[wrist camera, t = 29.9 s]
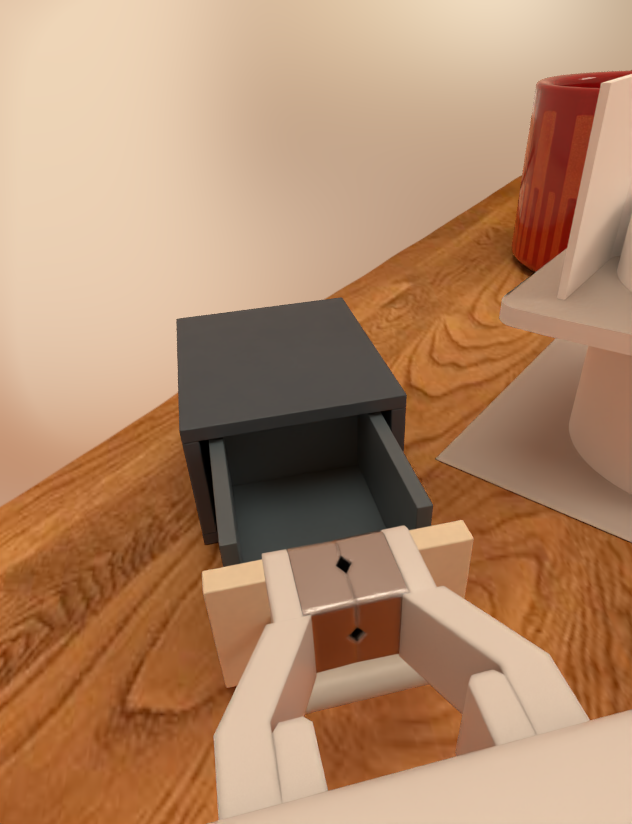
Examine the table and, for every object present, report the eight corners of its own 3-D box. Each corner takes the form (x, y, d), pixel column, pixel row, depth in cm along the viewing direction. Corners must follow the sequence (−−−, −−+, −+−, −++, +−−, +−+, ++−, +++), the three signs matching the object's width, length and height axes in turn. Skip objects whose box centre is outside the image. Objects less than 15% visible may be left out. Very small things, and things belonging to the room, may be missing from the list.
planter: (549, 225, 85) (578, 69, 74) (727, 252, 72) (795, 69, 61) (478, 271, 71) (500, 87, 60) (683, 315, 58) (761, 91, 47)
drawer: (499, 718, 25) (524, 620, 21) (234, 786, 23) (208, 693, 19) (377, 466, 39) (378, 381, 35) (209, 496, 37) (191, 409, 34)
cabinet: (401, 507, 37) (407, 394, 32) (204, 545, 35) (179, 430, 30) (344, 392, 49) (342, 297, 44) (195, 415, 47) (176, 318, 42)
